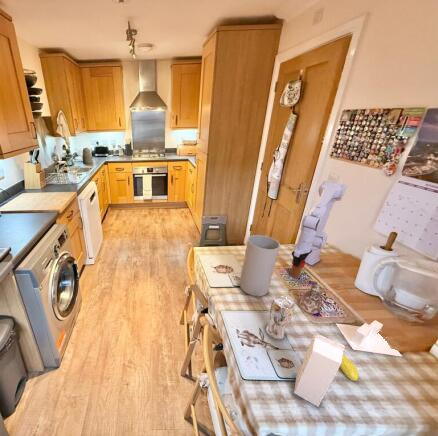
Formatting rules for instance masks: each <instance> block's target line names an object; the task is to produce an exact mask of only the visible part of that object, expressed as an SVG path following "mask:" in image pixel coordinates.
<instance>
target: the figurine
mask: <svg viewBox="0 0 438 436" xmlns="http://www.w3.org/2000/svg"><path fill="white" fill-rule="evenodd" d="M323 291H324V289H323V287H322V286H321V285H320V284H318V281H313V284H312V285H311V286H310V289H309V290H306V291H305V292H304V293H303V295H302V297H301V298H300V300H299V307H300V308H302V310H304V311H305V312H306V313H309V314H312V315H313V314H319V313H320V310H321V308H322V303H323V300H324V299H323V296H322V293H323Z"/></svg>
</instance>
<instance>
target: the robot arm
mask: <svg viewBox="0 0 438 436" xmlns="http://www.w3.org/2000/svg"><path fill="white" fill-rule="evenodd" d="M347 187H348V186H347V185H346V184H343V183H336V182H330V181H326V180H323V181H321V183H320V185H319V187H318V195H319V199H318V201H317V203H315V204H313V205H312V206H311V208H310V210H309V212H308V213H307V215H304V217H303V218H302V220H301V227H300V233H299V236H298V240H297V243H295V244H293V247H294V249H295V250H294V251H291V256H292V261H293V265H294V266H296V267H298V266H299V265H300V263H301V262H302V260H304V261H305V264H308V265H310V266H313V265H315V264H317V263H318V262H319V261H321V259H320V256H321V253H322V250H323V249H324V248H325V245H326V243H327V240H328V234H327V233H326V232H325V231H324V229H325V227H326V225H327V222H328V220H329V217H330V214H331V213H332V209H333V207H334V205H335V204H336V202H339V201H342V199H343V197H344V195H345V193H346V190H347Z"/></svg>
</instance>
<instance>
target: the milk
mask: <svg viewBox="0 0 438 436" xmlns="http://www.w3.org/2000/svg"><path fill="white" fill-rule="evenodd" d="M345 348H346V346H345V345H344V344H342V343H340V342H337V341H336V340H333V339H330V338H328V337H325V336H323V335H321V334H319V333H317V334H313V336H312V338H311V341H310V344H309V346H308V348H307V350H306V352H305V355H304V357H303V360H302V362H301V364H300V367H299V370H298V372H297V374H296V376H295V386H294V390H293V391H294V392H293V394H295V395H296V396H298V397H300V398H302V399H303V400H305V401H307V402H308V403H310V404H312V405H314V406H316V407H317V408H319V407H320V404H321V403H322V401H323V399H324V397H325V395H326V394H327V391H328V389H329V387H330V386H331V384H332V382H333V380H334V378H335V376H336V374H337V372H338V370H339V369H340V365H341V362H342V356H343V355H344V350H345Z"/></svg>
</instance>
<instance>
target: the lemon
mask: <svg viewBox="0 0 438 436" xmlns="http://www.w3.org/2000/svg"><path fill="white" fill-rule="evenodd" d="M339 369H341V371H342V372H343V373H344V375H345V376H346V377H347V378H348V379H349V380H351V381H354V382H355V381H357V380H358V379H359V371H358V369H357V367H356V366H355V364H354V363H353V362H352V360H351V359H349V358H348V357H347V356H346V355H345V354H343V356H342V362H341V365H340V367H339Z"/></svg>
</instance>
